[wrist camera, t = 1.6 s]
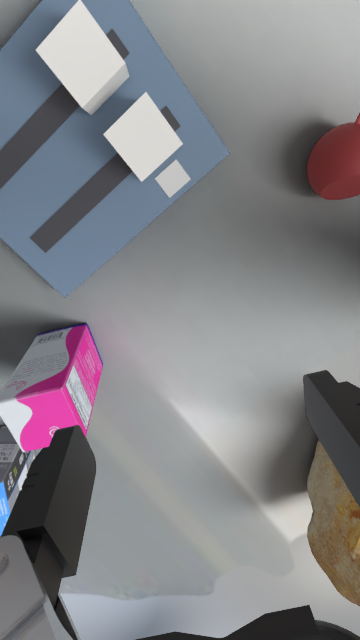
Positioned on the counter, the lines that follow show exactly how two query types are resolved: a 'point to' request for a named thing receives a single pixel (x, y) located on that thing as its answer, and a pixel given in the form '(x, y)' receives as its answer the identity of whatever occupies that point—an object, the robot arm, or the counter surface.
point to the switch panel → (87, 148)
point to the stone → (334, 526)
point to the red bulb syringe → (336, 163)
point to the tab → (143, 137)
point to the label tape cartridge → (11, 472)
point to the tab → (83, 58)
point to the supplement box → (52, 386)
